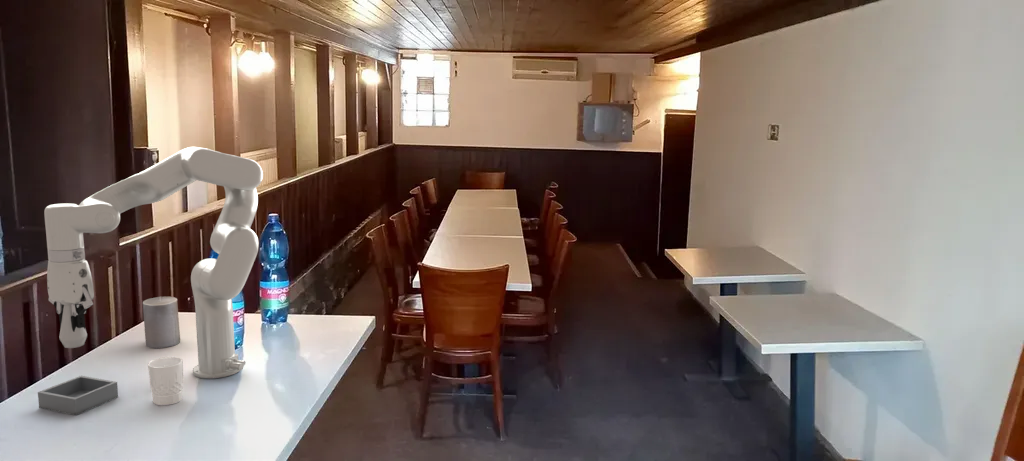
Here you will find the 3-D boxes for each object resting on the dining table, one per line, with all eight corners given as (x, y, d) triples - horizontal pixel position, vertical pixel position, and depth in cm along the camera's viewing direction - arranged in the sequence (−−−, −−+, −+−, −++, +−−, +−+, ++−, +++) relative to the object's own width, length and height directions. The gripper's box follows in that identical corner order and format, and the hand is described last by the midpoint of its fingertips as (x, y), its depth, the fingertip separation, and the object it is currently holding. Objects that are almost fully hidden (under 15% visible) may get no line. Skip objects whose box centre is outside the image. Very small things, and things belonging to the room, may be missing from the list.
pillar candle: (158, 337, 234) (154, 291, 232) (186, 339, 233) (183, 293, 230) (138, 347, 225) (134, 300, 222) (168, 349, 223) (164, 301, 221)
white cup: (192, 396, 188) (189, 359, 186) (168, 408, 181) (166, 369, 179) (167, 392, 191) (165, 355, 189) (143, 403, 183) (140, 365, 182)
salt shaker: (75, 350, 178) (70, 297, 175) (54, 348, 179) (49, 295, 177) (93, 342, 183) (89, 291, 181) (73, 341, 184) (68, 290, 182)
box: (118, 397, 187) (117, 381, 186) (76, 415, 176) (74, 399, 175) (82, 390, 191) (81, 375, 190) (39, 407, 180) (37, 392, 179)
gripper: (106, 255, 178) (111, 329, 181) (55, 250, 183) (61, 321, 187) (78, 261, 171) (84, 338, 174) (26, 255, 176) (33, 330, 180)
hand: (72, 328), depth 180 cm, fingers closed on salt shaker, 3 cm apart
